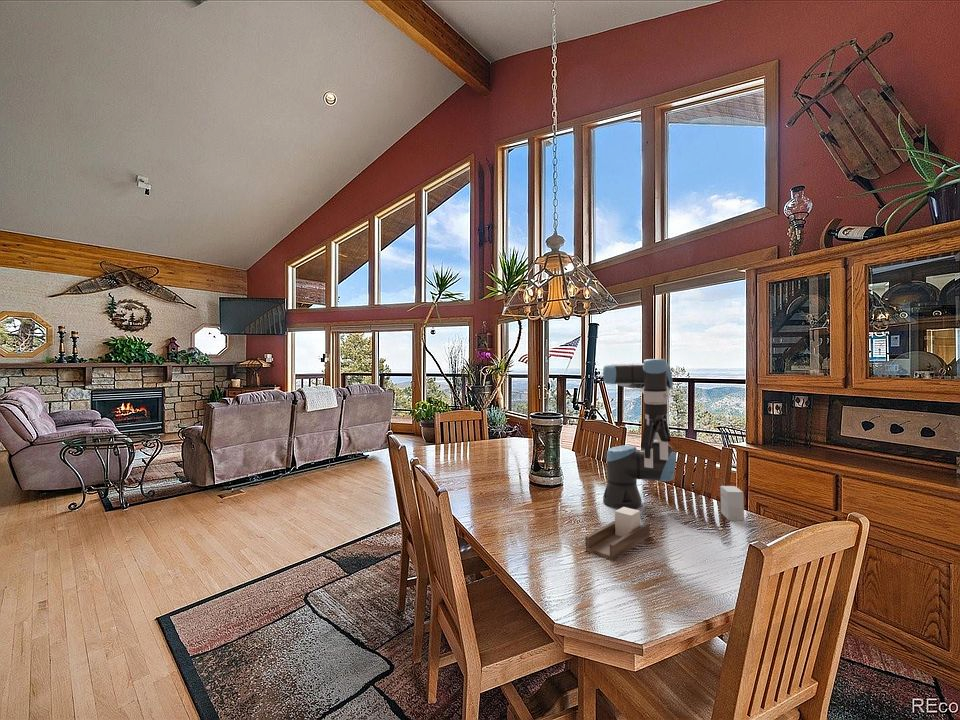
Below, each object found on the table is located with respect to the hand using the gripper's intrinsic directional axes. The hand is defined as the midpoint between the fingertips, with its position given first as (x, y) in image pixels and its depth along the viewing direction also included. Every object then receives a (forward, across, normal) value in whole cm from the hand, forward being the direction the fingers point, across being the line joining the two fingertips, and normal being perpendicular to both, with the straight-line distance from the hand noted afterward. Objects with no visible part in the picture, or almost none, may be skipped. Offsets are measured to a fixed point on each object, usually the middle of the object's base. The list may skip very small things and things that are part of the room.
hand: (656, 463), depth 158 cm
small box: (+24, +29, -16) cm, 41 cm away
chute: (+23, -19, +5) cm, 31 cm away
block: (+22, -13, +5) cm, 26 cm away
